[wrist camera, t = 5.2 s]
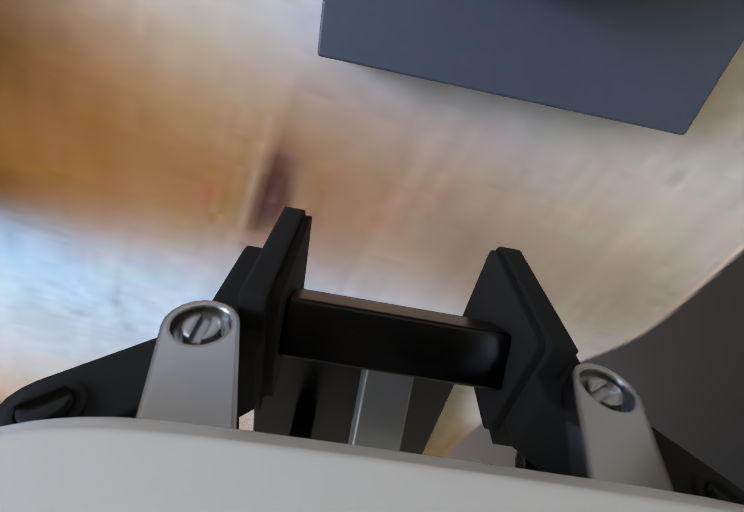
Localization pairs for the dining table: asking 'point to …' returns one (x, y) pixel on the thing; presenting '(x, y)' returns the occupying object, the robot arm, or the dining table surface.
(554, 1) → the button housing
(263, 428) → the lever bracket
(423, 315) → the lever
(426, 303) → the dining table surface
